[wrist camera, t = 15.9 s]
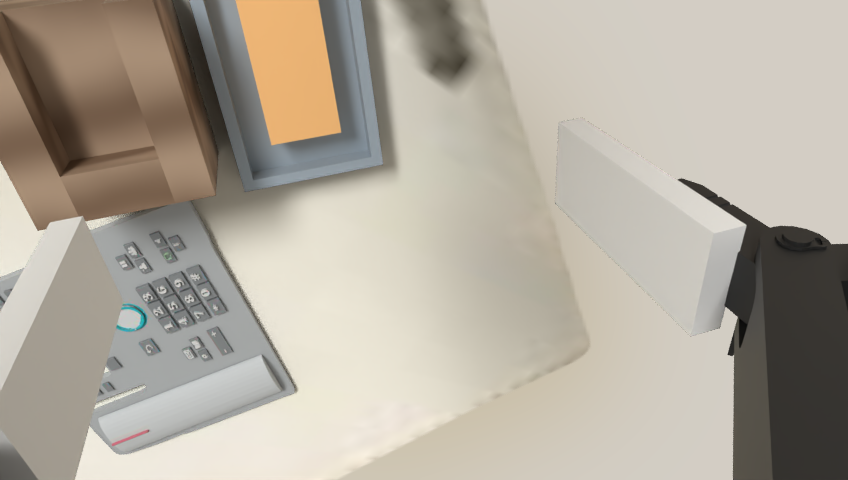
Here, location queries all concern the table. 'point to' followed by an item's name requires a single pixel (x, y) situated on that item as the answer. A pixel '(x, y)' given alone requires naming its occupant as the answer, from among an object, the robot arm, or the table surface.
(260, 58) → the orange bar
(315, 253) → the table surface
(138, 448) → the office telephone
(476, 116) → the table surface
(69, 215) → the pocket block
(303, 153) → the slate tray
